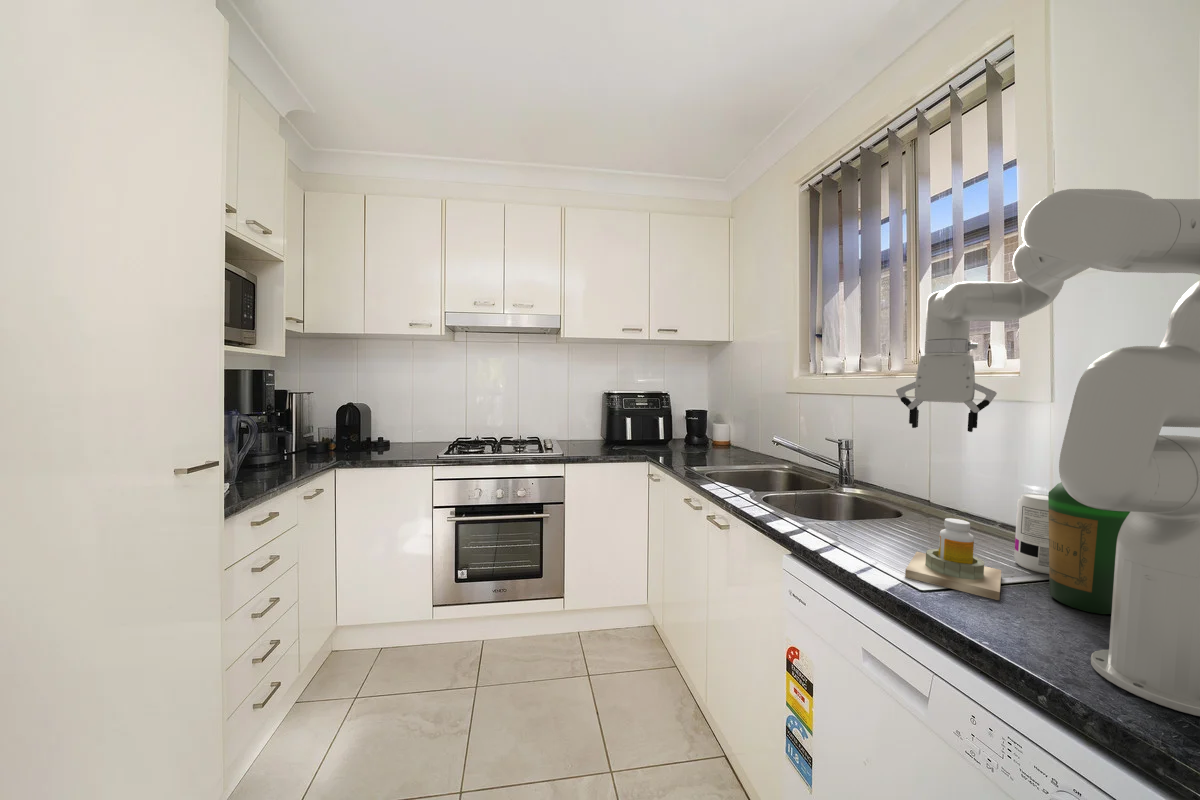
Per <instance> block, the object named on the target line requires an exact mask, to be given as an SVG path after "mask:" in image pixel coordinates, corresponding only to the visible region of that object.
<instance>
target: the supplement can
mask: <svg viewBox="0 0 1200 800" xmlns="http://www.w3.org/2000/svg"><path fill="white" fill-rule="evenodd" d="M1016 503H1017V506H1016V520H1015V521H1016V522H1015V523H1016V524H1015V540H1014V551H1013V553H1014V555H1013V560H1014V561H1015V563H1017V565H1018V566H1020V567H1022V568H1023V569H1024V568H1025V569H1027V570H1029V571H1033V572H1036V573H1042V574H1047V575H1049V509H1048V494H1042V493H1031V492H1028V493H1026V492H1025V493H1022V494H1021V496H1020V497H1019V498H1018V499H1017V502H1016Z"/></svg>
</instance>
